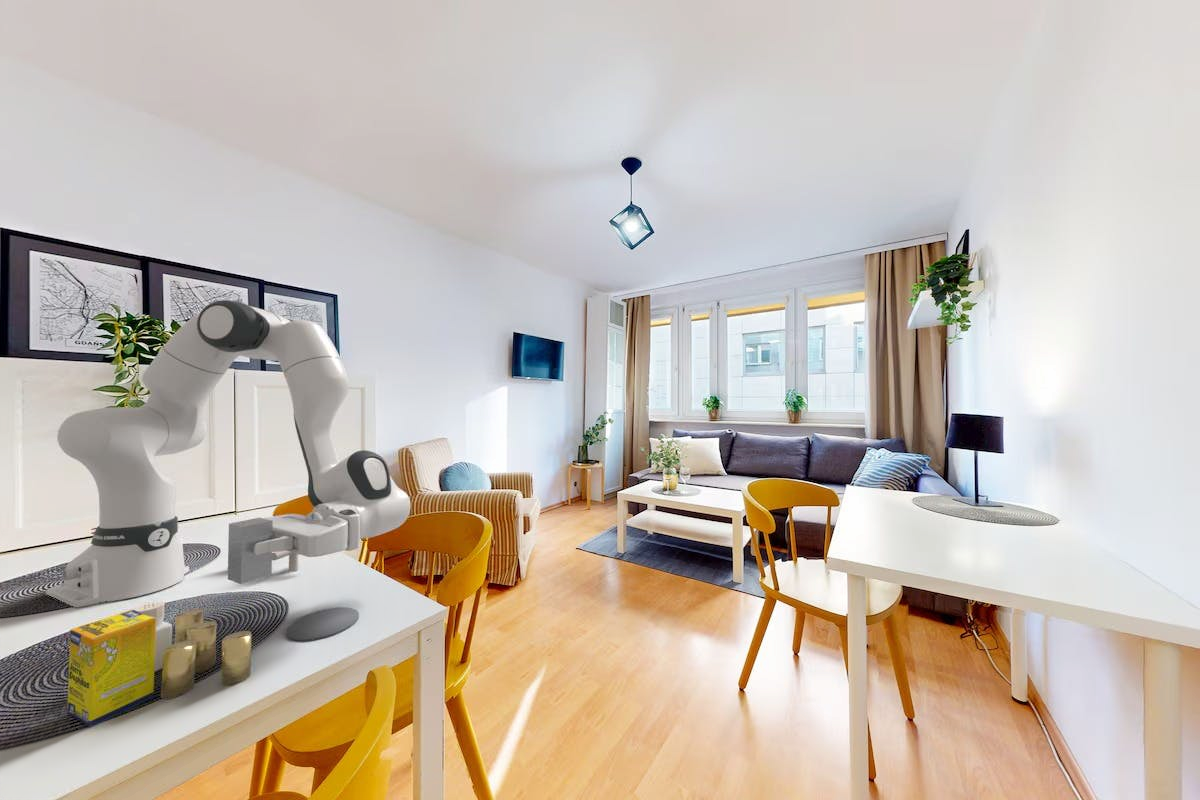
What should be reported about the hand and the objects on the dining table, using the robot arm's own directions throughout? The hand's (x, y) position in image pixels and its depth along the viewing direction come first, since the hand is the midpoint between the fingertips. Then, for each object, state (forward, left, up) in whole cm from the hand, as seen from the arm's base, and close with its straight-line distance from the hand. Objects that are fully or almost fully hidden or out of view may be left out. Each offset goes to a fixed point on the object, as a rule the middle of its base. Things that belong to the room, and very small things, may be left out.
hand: (244, 546), depth 68 cm
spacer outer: (+2, -10, -16) cm, 19 cm away
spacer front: (-1, -5, -17) cm, 17 cm away
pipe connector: (-22, +29, -17) cm, 40 cm away
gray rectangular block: (0, +1, -5) cm, 5 cm away
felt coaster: (+6, +9, -16) cm, 20 cm away
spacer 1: (-8, -2, -17) cm, 18 cm away
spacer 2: (+7, -6, -17) cm, 19 cm away
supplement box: (-3, -14, -17) cm, 22 cm away
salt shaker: (-8, -7, -17) cm, 20 cm away
